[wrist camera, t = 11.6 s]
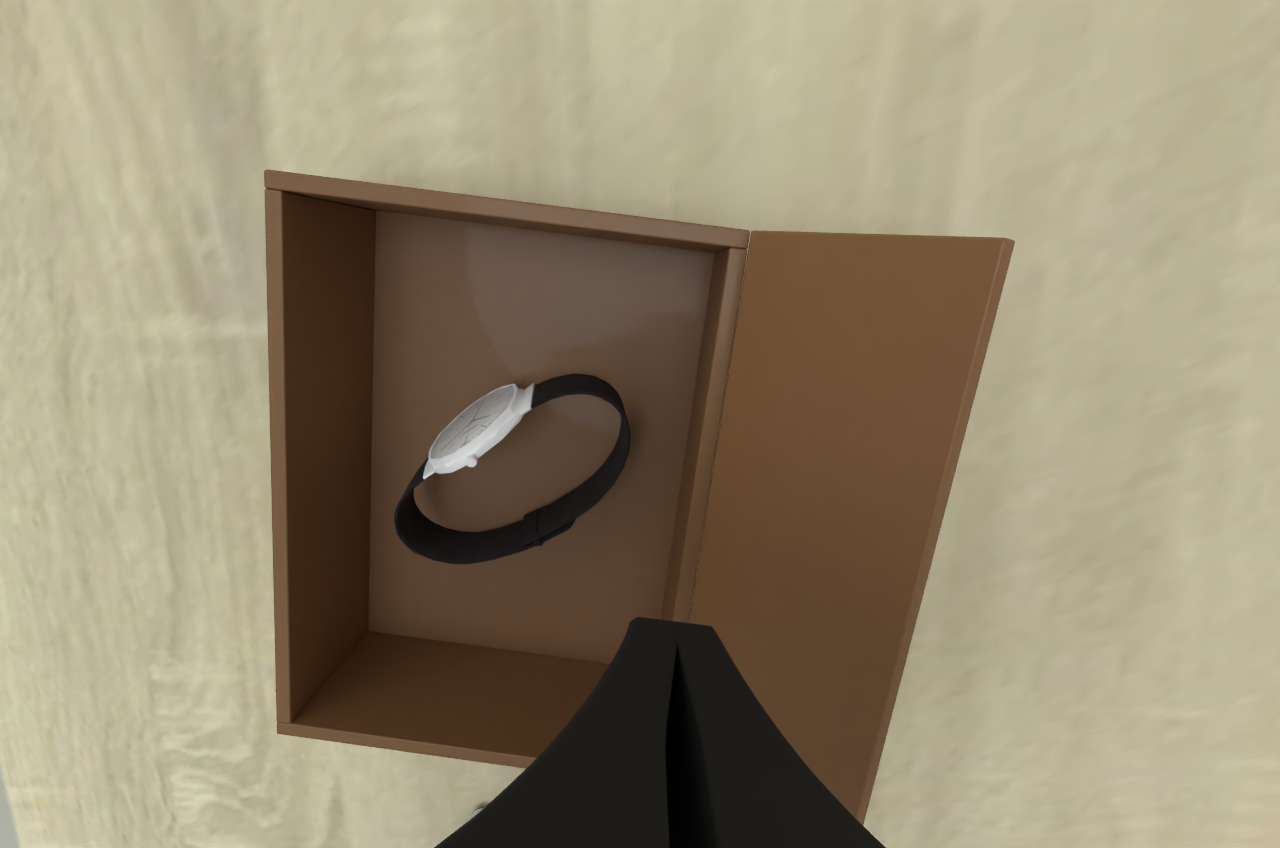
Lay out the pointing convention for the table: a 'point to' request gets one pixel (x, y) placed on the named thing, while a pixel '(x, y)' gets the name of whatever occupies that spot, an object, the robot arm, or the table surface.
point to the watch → (476, 437)
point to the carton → (502, 478)
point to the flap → (840, 474)
